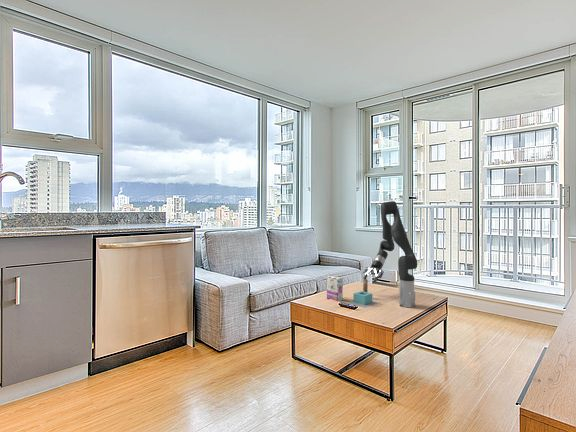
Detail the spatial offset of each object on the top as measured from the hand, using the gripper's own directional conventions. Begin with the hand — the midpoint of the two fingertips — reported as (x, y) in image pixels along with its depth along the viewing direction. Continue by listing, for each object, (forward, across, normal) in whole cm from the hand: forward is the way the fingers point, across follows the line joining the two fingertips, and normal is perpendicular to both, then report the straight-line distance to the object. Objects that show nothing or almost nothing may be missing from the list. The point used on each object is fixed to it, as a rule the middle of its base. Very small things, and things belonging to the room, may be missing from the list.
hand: (369, 280), depth 240 cm
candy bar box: (+25, -13, -7) cm, 29 cm away
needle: (+12, 0, +6) cm, 13 cm away
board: (+20, +6, -2) cm, 21 cm away
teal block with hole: (+18, +5, -2) cm, 19 cm away
